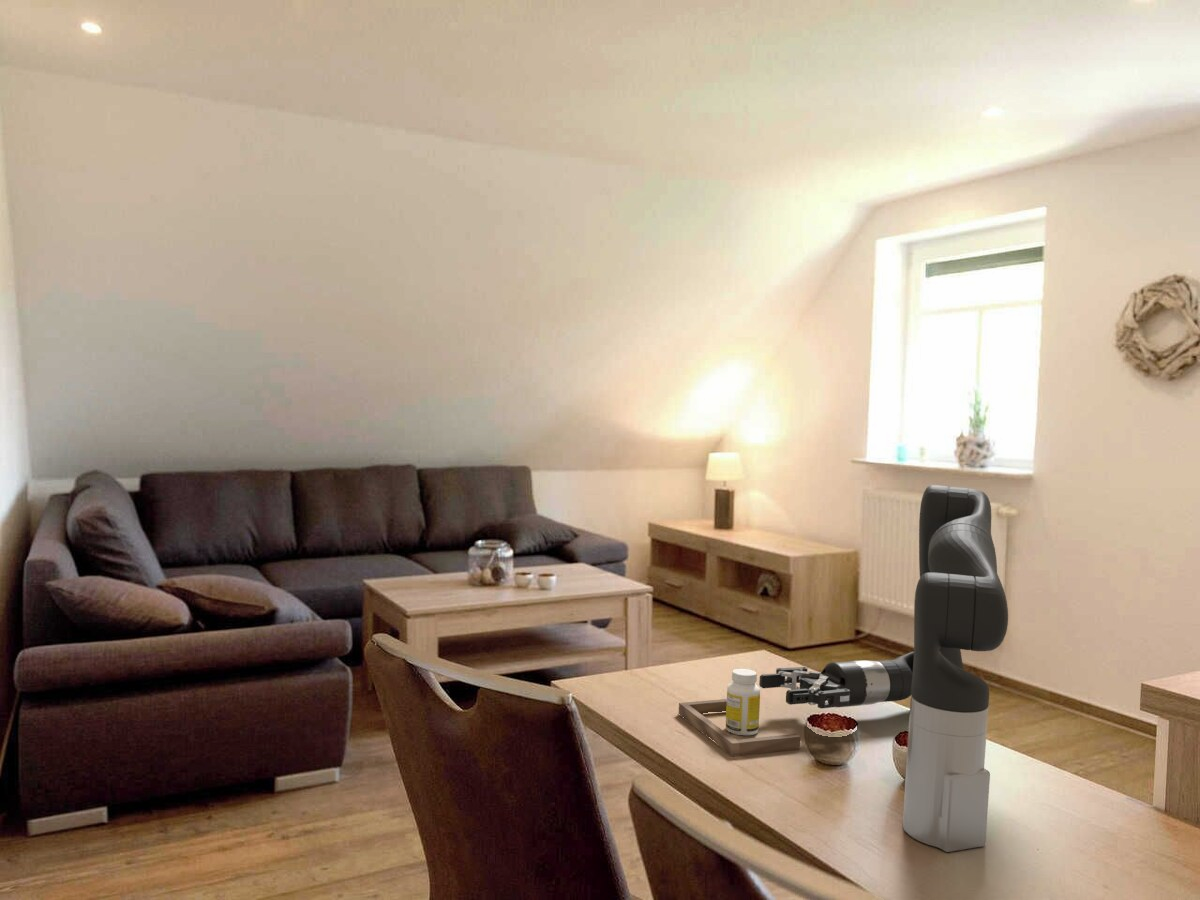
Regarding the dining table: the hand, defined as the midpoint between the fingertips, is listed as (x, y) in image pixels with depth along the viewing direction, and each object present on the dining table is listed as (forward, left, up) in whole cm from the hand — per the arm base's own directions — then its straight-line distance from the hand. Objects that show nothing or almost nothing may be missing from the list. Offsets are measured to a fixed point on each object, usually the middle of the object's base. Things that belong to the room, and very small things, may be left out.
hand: (773, 689), depth 153 cm
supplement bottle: (0, +6, -7) cm, 9 cm away
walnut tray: (0, +7, -7) cm, 9 cm away
